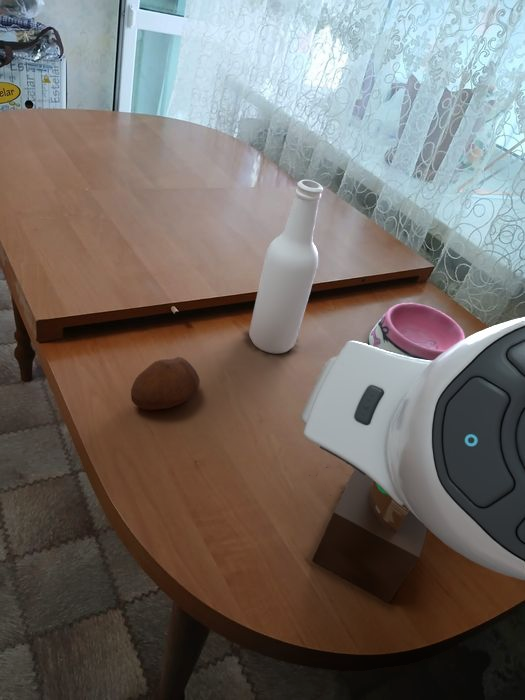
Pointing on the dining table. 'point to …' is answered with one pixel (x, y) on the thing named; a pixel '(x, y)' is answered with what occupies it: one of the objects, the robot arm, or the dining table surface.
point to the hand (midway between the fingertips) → (435, 457)
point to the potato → (165, 384)
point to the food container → (386, 507)
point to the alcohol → (287, 275)
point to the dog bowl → (416, 331)
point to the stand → (369, 543)
